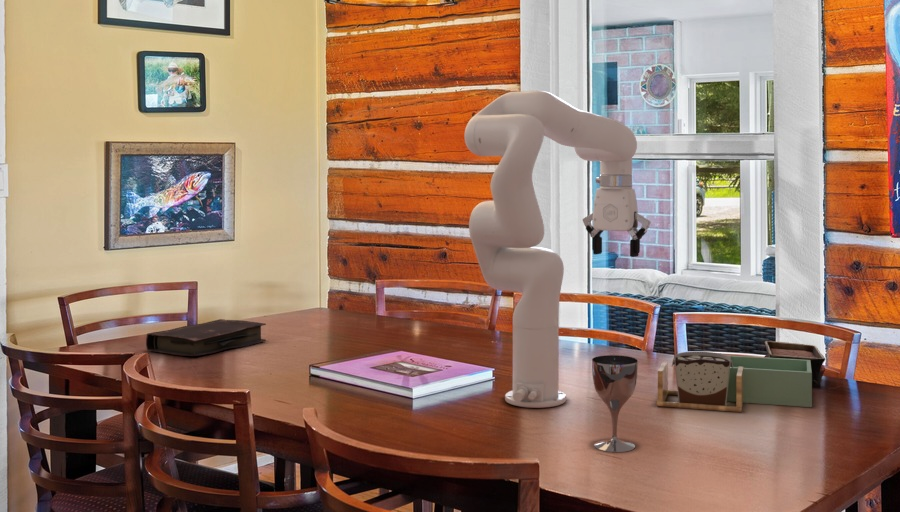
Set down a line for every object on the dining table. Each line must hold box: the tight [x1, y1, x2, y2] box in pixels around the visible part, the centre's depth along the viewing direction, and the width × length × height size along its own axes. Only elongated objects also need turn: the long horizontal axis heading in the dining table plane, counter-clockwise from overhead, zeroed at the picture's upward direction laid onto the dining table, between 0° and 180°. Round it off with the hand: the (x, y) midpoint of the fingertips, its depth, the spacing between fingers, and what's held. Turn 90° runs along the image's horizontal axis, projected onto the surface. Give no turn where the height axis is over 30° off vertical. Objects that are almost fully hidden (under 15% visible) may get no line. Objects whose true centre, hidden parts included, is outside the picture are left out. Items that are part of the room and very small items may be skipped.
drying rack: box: [656, 361, 744, 413], centre depth 198 cm, size 11×17×7 cm, turn 74°
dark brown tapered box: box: [764, 340, 826, 388], centre depth 218 cm, size 14×18×10 cm
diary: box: [145, 318, 267, 357], centre depth 255 cm, size 19×25×5 cm
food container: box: [671, 351, 733, 406], centre depth 198 cm, size 12×6×10 cm, turn 84°
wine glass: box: [591, 354, 639, 453], centre depth 169 cm, size 8×8×15 cm
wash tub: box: [726, 354, 813, 408], centre depth 203 cm, size 13×18×7 cm
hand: (615, 255), depth 228 cm, fingers open, 9 cm apart
